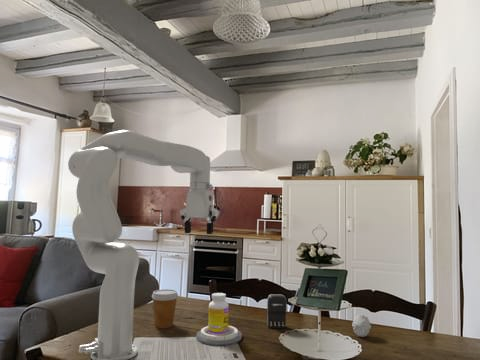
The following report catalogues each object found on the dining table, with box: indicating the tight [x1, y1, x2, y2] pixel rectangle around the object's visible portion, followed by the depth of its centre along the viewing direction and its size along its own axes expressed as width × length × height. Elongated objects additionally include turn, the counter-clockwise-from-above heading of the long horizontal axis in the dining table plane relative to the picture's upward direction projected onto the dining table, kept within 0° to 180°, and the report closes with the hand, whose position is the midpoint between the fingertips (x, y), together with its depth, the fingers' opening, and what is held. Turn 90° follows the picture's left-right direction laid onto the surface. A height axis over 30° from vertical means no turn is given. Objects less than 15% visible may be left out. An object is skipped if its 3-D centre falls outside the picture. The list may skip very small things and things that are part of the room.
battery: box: [266, 294, 288, 329], centre depth 129 cm, size 7×4×11 cm, turn 89°
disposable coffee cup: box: [151, 288, 179, 329], centre depth 129 cm, size 10×10×12 cm
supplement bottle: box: [207, 292, 230, 336], centre depth 118 cm, size 7×7×13 cm
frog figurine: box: [351, 313, 372, 338], centre depth 121 cm, size 6×7×7 cm
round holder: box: [196, 325, 243, 347], centre depth 117 cm, size 15×15×2 cm
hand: (198, 233), depth 132 cm, fingers open, 9 cm apart
